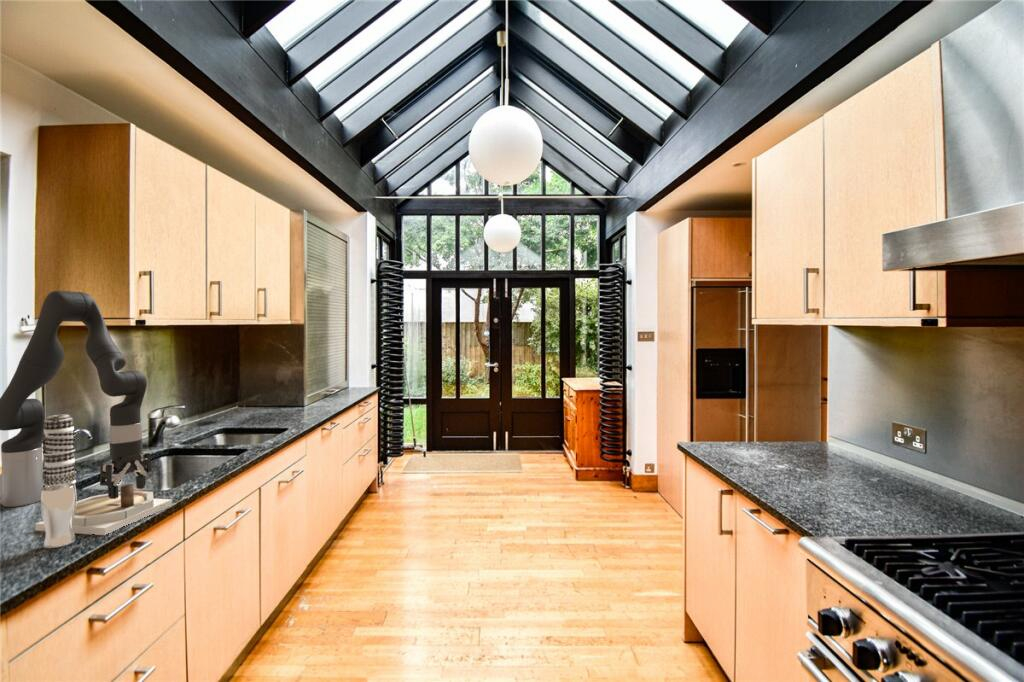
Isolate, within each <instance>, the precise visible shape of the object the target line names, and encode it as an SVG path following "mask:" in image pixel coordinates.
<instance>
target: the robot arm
mask: <svg viewBox="0 0 1024 682" xmlns="http://www.w3.org/2000/svg"><path fill="white" fill-rule="evenodd" d="M63 322H74V323H76V322H78V323H79V322H80V323H83V324H84V325H85V327H86V328H87V330H88V334H87V338H86V342H85V351H86V354H87V356H88V358H89V360H91V362H92V364H93V365H94V367H95V368H96V371H97V375H98V380H99V385H100V390H101V391H102V393H104V394H105V395H106V396H108V397H112V398H113V397H115V398H116V397H123V396H125V397H124V398H123V401H121V402H119V403H116V404H114V405H112V406H111V407H110V408H109V421H110V422H109V423H110V425H109V432H108V433H109V436H108V437H109V438H108V439H109V456H110V457H111V463H107V464H106V463H103V464H100V466H99V467H100V470H99V473H100V475H99V485H100V487H101V486H102V487H103V486H104V487H106V486H107V494H108V496H109V497H110V499H116V498H118V492H119V485H118V484H119V482H120V480H121V479H123V478H124V476H125V475H128V474H130V473H134V474H135V482H136V483H135V484H136V489H138V490H143V489H145V488H146V487H145V486H146V482H147V481H146V480H147V479H146V476H147V474H148V473H151V472H152V471H153V467H152V457H151V456H152V454H151V453H150V452H143V429H142V423H141V421H142V419H141V408H142V405H143V401H144V397H145V394H146V390H147V387H148V386H147V385H148V381H147V378H146V376H145V374H144V373H143V372H142V371H140V370H127V371H126V370H125V371H121V370H123V368H124V367H126V364H127V361H126V359H125V356H124V354H122V352H121V351H120V349H119V348H118V346H117V345H116V343H115V342H114V340H113V338H112V336H111V335H110V332H109V330H108V327H107V325H106V322H105V320H104V317H103V315H102V312H101V310H100V308H99V305H98V303H97V301H96V299H95V298H94V297H93V296H92V295H91V294H89V293H87V292H81V291H71V290H70V291H69V290H67V291H66V290H52V291H51V292H49V293H48V294H47V295H46V297H45V299H44V300H43V303H42V306H41V309H40V312H39V315H38V319H37V322H36V324H35V327H34V330H33V333H32V335H31V338H30V340H29V341H28V343H27V345H26V348H25V350H24V351H23V353H22V355H21V358H20V360H19V362H18V365H17V367H16V370H15V371H14V374H13V376H12V378H11V379H10V380H11V381H10V382H9V383H8V385H7V387H6V389H5V390H4V392H3V393H2V395H1V397H0V431H15V430H19V429H20V431H19V432H18V433H17V434H16V435H14V436H13V437H10V438H9V439H7V440H5V441H3V442H2V443H1V444H0V445H1V446H0V455H1V456H0V457H1V474H0V505H1V506H3V507H6V508H9V507H10V508H13V507H20V506H22V507H23V506H26V505H31V504H33V503H37V502H40V501H41V489H42V488H44V469H43V468H44V466H43V448H42V447H43V444H42V441H43V438H44V435H45V434H44V429H45V426H44V420H46V418H45V416H46V415H45V414H46V413H45V407H44V404H43V403H42V402H41V400H39V399H38V398H29V397H30V396H31V395H33V394H34V393H35V392H36V391H38V390H39V389H41V388H42V387H44V386H45V385H46V384H48V383H49V382H50V381H51V380H53V379H54V378H55V377H56V376H57V374H58V372H59V370H60V369H61V366H62V364H63V362H64V360H65V352H64V349H63V346H62V344H61V342H60V340H59V337H58V330H59V328H60V326H61V324H62V323H63Z"/></svg>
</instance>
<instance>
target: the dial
mask: <svg viewBox="0 0 1024 682" xmlns="http://www.w3.org/2000/svg"><path fill="white" fill-rule="evenodd" d="M119 490H120V492H121V495H119V496H118V498H116V499H110V497H105V498H100V499H96V500H92V501H89V502H86V503H83V504H80V505H78V506H77V507H76V513H75V515H78V516H92V515H98V514H103V513H109V512H114V511H120V510H124V509H127V508H129V507H132V506H133V505H136V504H138V503H142V502H144V497H142V496H139V495H134V491H135V490H134V484H132V483H131V484H129V483H128V484H124V485H121V486H120V489H119Z"/></svg>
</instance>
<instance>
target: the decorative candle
mask: <svg viewBox="0 0 1024 682" xmlns="http://www.w3.org/2000/svg"><path fill="white" fill-rule="evenodd" d="M75 431H77V428H75V426H74V417H72V416H71V415H70V414H67V413H66V414H65V413H64V414H61V413H60V414H53V415H52V414H51V415H49V416H47V417H46V418H45V419H44V438H43V441H42V455H44V458H45V459H44V460H45V461H44V466H43V487H44V486H45V487H47V486H51V485H55V484H61V483H75V484H76V483H77V480H76V479H77V476H76V475H77V472H76V471H75V470H77V467H76V465H77V463H76V462H75V461H76V460H75V459H76V458H75V453H74V452H75V451H76V449H77V448H76V447H74V446H75V445H76V444H77V442H76V440H77V438H76V437H74V436H75V435H77V432H75Z"/></svg>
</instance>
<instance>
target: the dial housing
mask: <svg viewBox="0 0 1024 682" xmlns="http://www.w3.org/2000/svg"><path fill="white" fill-rule="evenodd" d="M119 495H121V491H118V496H119ZM134 495H139V496H142V497H144V502H142V503H138V504H136V505H133V506H132V507H129V508H127V509H124V510H120V511H114V512H109V513H103V514H98V515H92V516H78V515H75V518H74V523H73V530H74V534H81V535H92V534H95V535H94V536H107V535H109V534H111V533H113V531H114V532H116V531H118V530H120V529H119V528H121V527H123V526H125V527H127V526H129V525H128V524H130V525H131V523H132V524H134V523H136V522H138V520H139V521H141V520H143V519H145V518H147V516H148V517H150V516H152V515H154V514H157V513H159V512H161V511H163V510H166V509H167V508H170V507H172V506H173V499H170V498H169V499H167V498H154V491H146V490H134ZM105 497H109V496H108V493H105V494H98V495H92V496H88V497H86V498H82V499H80V500H77V506H78V505H80V504H83V503H86V502H89V501H92V500H96V499H100V498H105ZM149 515H150V516H149ZM144 517H145V518H144ZM142 518H143V519H142ZM140 519H141V520H140ZM133 522H134V523H133ZM126 525H127V526H126ZM123 528H124V527H123ZM117 529H118V530H117ZM121 529H122V528H121ZM115 530H116V531H115ZM36 531H37V532H46V531H45V526H44V522H43V520H42V521H39V522H35V532H36ZM108 533H109V534H108ZM106 534H107V535H106Z"/></svg>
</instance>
